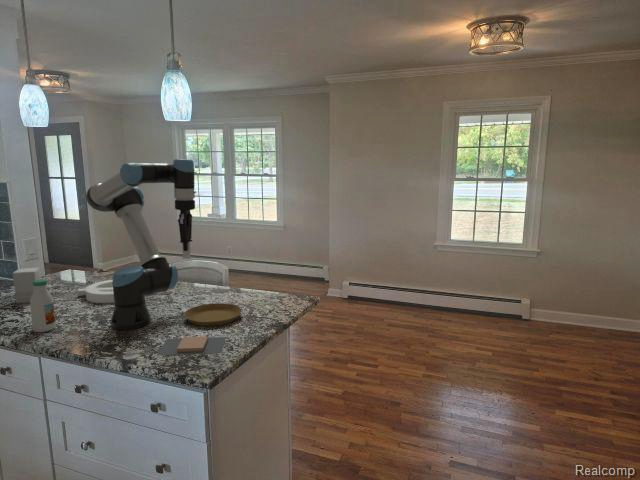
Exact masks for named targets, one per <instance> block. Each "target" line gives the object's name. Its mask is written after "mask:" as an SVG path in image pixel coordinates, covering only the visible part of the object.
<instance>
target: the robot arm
mask: <svg viewBox="0 0 640 480" xmlns="http://www.w3.org/2000/svg"><path fill="white" fill-rule="evenodd" d="M194 164H195V163H194V161H193V160H192V159H187V158H175V159H173V162H172V163H163V162H161V163H151V162H150V163H149V162H148V163H146V162H145V163H144V162H143V163H142V162H139V163H138V162H127V163H123V164H122V165H121V167H120V169H119V172H118V173H117V174H115V175H113V176H112V177H110V178H108V179H106V180H105V181H104V182H102V183H96V184H94V185H92V186H90V187H89V188H88V189H87V191H86V194H85V200H86V202H87V204H88V205H89V206H90V207H91V208H92V209H93V210H96V211H97V212H108V213H109V212H114V213H115V215H116V217H117V218H118V219H121V220H122V222H123V225H124V227H125V229H126V231H127V234H128V236H129V239H130V240H131V243H132V245H133V248H134V250H135V252H136V254H137V257H138V259H139V262H140V265H132V266H130V265H129V266H125V267H121V268H119V269H117V270H115V271H114V272H113V274H112V280H113V282H112V285H113V293H114V308H113V312H112V314H111V319H110V325H111V328H112V329H114V330H118V331H128V330H135V329H141V328H143V327H146V326H148V325H149V324H150V323H151V322H152V316H151V314H150V311H149V308H148V306H147V303H146V296H151V295H154V294H159V293H162V292H167V291H169V290H172V289H174V288H175V287H176V286H177V284H178V279H179V272H178V269H177V268H178V267H176V265H175V264H174V263H172V262H168V260H167V258H166V257H165V256H162V255H161V253H160V252H159V249H158V247H157V245H156V242H155V240H154V238H153V236H152V234H151V231H150V229H149V226H148V225H147V222H146V220H145V217H144V216H143V213H142V211H143V209H144V205H145V200H144V199H145V197H144V194H143V192H142V190H141V189H140V188H139V187H138V186H140V185H142V184H173V186H174V187H173V190H174V199H175V200H174V209H175V210H177V211H179V215H178V219H177V222H178V227H179V236H180V237H179V240H180V241H179V243H181V244H182V246H181V247H182V248H181V249H182V260H183V259H184V260H186V259H187V260H190V259H191V258H192V257H191V255H192V254H191V242H193V239H192V229H193V228H192V227H193V226H192V225H193V215H192V213H191V211H193V210H196V200H195V198H196V195H195V194H197V191H196V190H195V171H196V170H195V165H194Z"/></svg>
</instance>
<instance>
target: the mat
mask: <svg viewBox="0 0 640 480" xmlns="http://www.w3.org/2000/svg"><path fill="white" fill-rule="evenodd" d="M182 339H183V337H180V338H177V337H176V338H166V340H165V341H164V342H163V344H162V346H161V347H160V349H159V350H158V352H157V354H156V356H174V355H175V356H177V355H178V356H179V355H207V354H209V355H211V354H222V352H223V349H224V347H225V344H226V339H227V336H218V337H217V336H216V337H213V336H212V337H208V340H207V342H206V345H205V347H204V350H203V351H190V352H178V351H177V347H178V346H179V344H180V342H181V340H182Z"/></svg>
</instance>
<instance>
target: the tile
mask: <svg viewBox="0 0 640 480" xmlns="http://www.w3.org/2000/svg"><path fill="white" fill-rule="evenodd" d="M182 338H183V339H182V340H181V342H180V344H179V346H178V347H177V351H178V352H190V351H203V350H204V347H205V345H206V342H207V340H208V338H209V337H208V336H205V335H204V336H183V337H182Z"/></svg>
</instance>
